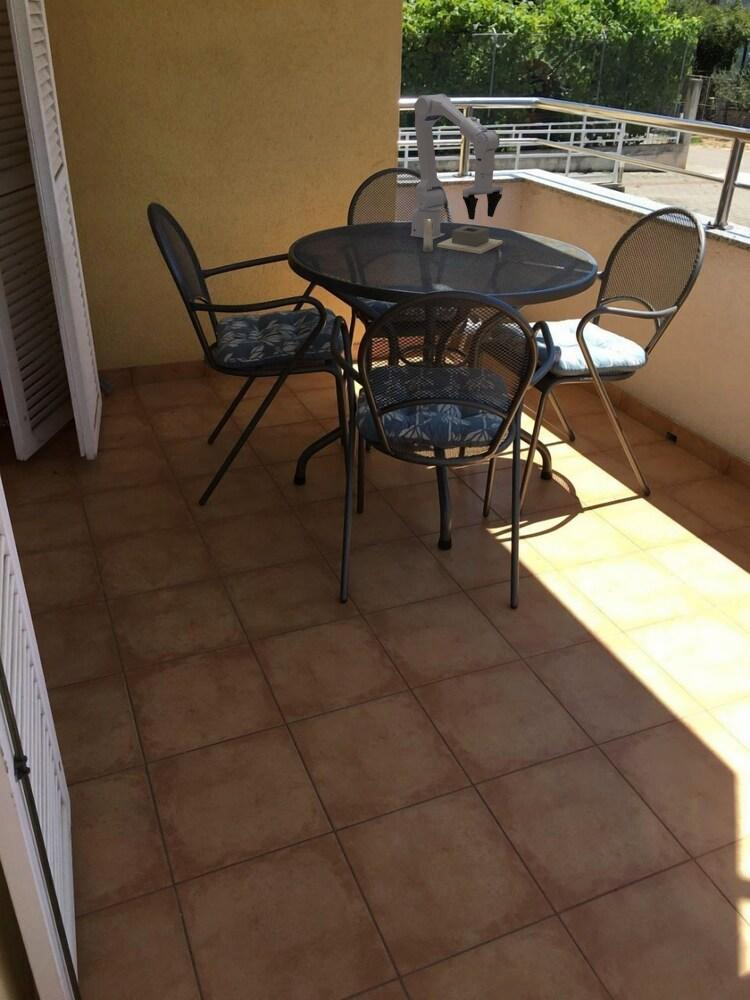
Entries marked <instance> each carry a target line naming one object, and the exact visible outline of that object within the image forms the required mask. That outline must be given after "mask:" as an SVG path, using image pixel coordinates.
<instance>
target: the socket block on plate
mask: <svg viewBox="0 0 750 1000" xmlns="http://www.w3.org/2000/svg"><path fill="white" fill-rule="evenodd" d="M503 242H504V241H503V240H502V239H501V240H500V239H494V238H490V228H484V227H477V226H472V225H464V226H461V227H458V228H455V229H453V230H452V231H451V237H450V238H448V239H446V240H443V241H441V242H439V243H436V247H437V248H442V249H447V250H454V251H460V252H465V253H466V252H467V253H474V254H479V255H482V254H484V253H485V252H487V251H489V250H492V249H494V248H496V247H499V246H500V245H503Z"/></svg>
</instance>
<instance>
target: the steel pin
mask: <svg viewBox="0 0 750 1000" xmlns="http://www.w3.org/2000/svg"><path fill="white" fill-rule="evenodd" d="M433 225H434V219H433V218H425V219H424V238H423V250H422V251H423V252H425V253H432V252H433V250H434V249H433V248H434V247H433V246H434V245H433V244H434V239H433Z"/></svg>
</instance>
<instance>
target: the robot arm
mask: <svg viewBox="0 0 750 1000" xmlns="http://www.w3.org/2000/svg"><path fill="white" fill-rule="evenodd" d="M413 109H414V117H415V119H414V120H415V121H414V129H415V138H416V146H417V153H418V154H417V156H418V164H419V165H418V166H419V173H420V174H419V175H420V180H419V182H418V183H417V185H416V186H415V197H414V202H415V206H416V207H415V208H414V210H413V212H412V214H411V233H410V235H409V236H410V237H418V238H422V239H424V219H425V218H433V219H434V225H433V240H435V239H438V238H441V237H443V236H445V235H446V234H445V233H444V232H443V233H442V232H441V218H442V217H441V216H442V209H443V206H444V205H445V204H446V202H447V194H446V191H445V189H444V184H443V182H442V181H441V180H440V179H439V178H438V171H437V163H436V162H437V161H436V153H435V145H434V143H435V142H434V134H433V128H434V127H433V126H434V125H435V124H436V122H437V121H439V120H440V119H441V118H442V117H444V118H446V119H448V120H449V121H450V122H452V123H453V124H454V125H456V126H457V127H459V133H460V134H461V136H463V137H464V138H465V139H466V140H468V141H469V142H470V143H471V144H472V147H473V150H474V156H475V157H474V158H475V166H474V168H475V169H474V183H473V187H469V188H464V189H462V192H461V193H462V194H461V195H462V199H463V202H464V204H465V206H466V211H467V214H468V215H467V216H468V219H469V220H472V221H474V220H475V216H476V209H477V204H478V201H479V198H477V197H476V196H480V195H486V199H487V212H486V213H487V216H488V217H489V218H494V214H495V212H496V208H497V206H498V204H499V202H500V201H501V199H502V198H503V194H502V193H503V188H504V186H503V185H500V184H499V185H493V181H494V167H495V156H496V154H495V153H496V150H497V149H498V148H499V146H500V141H501V140H500V139H501V138H500V136H499V134H498V133H497V132H496V130H489V129H488V128H487V126H484V125H482V124H481V123H480V122H478V121H477V120H478V118H476V117H475V116H473V117H472V116H468V117H466V116H465V114H464V113H462V112H461V111H460V110H459V108H457V107H456V106H455V105H454V104H453V103H452V100H451V98H450V97H448V96H447V95H446V94H445V93H439V94H430V95H429V94H428V95H425V94H424V95H423V94H422V95H420V96H419V97H418V98H417V99H416V101H415V103H414V104H413Z"/></svg>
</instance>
